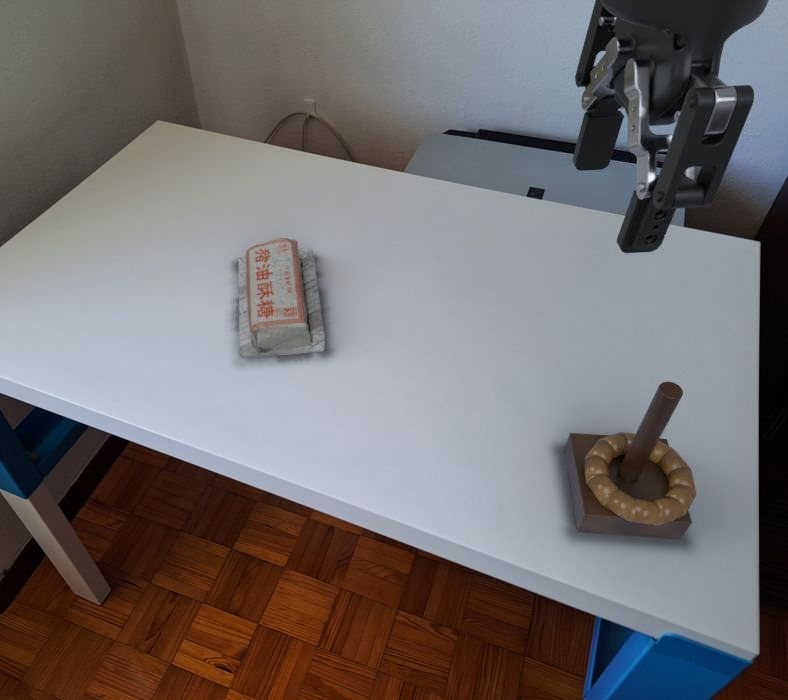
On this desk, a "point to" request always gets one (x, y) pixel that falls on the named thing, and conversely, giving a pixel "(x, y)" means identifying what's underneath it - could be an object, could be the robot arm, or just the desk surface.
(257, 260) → the packaged product
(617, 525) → the peg stand
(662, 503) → the segmented donut ring
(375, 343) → the desk surface
